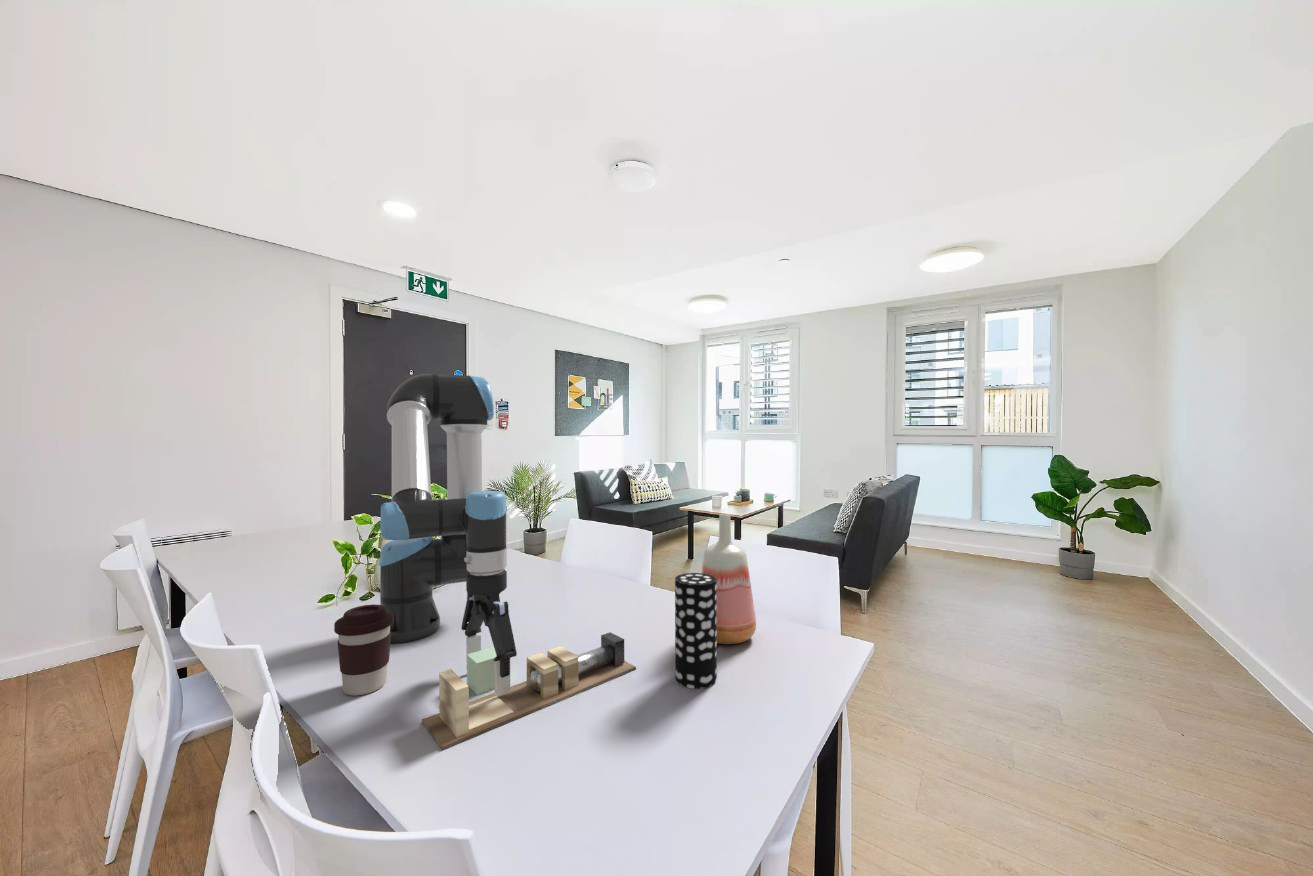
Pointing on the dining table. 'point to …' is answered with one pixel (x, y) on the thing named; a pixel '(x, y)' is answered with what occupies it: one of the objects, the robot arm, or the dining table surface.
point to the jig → (511, 696)
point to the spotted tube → (696, 630)
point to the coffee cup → (364, 648)
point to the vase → (730, 587)
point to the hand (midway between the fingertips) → (487, 679)
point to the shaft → (592, 658)
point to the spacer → (481, 670)
